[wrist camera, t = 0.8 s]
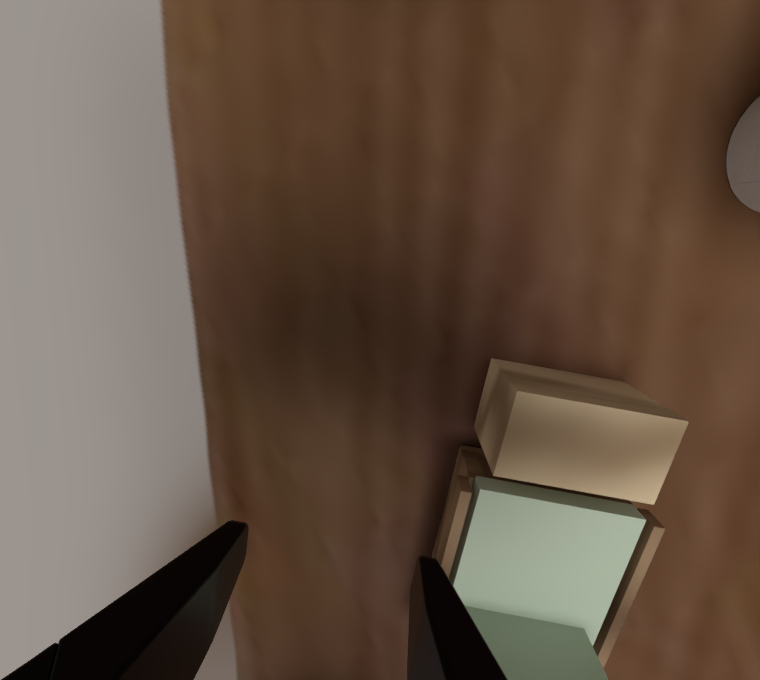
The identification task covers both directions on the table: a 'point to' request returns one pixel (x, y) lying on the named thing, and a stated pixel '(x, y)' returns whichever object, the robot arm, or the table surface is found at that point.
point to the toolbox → (476, 464)
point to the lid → (542, 575)
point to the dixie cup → (746, 158)
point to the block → (575, 431)
